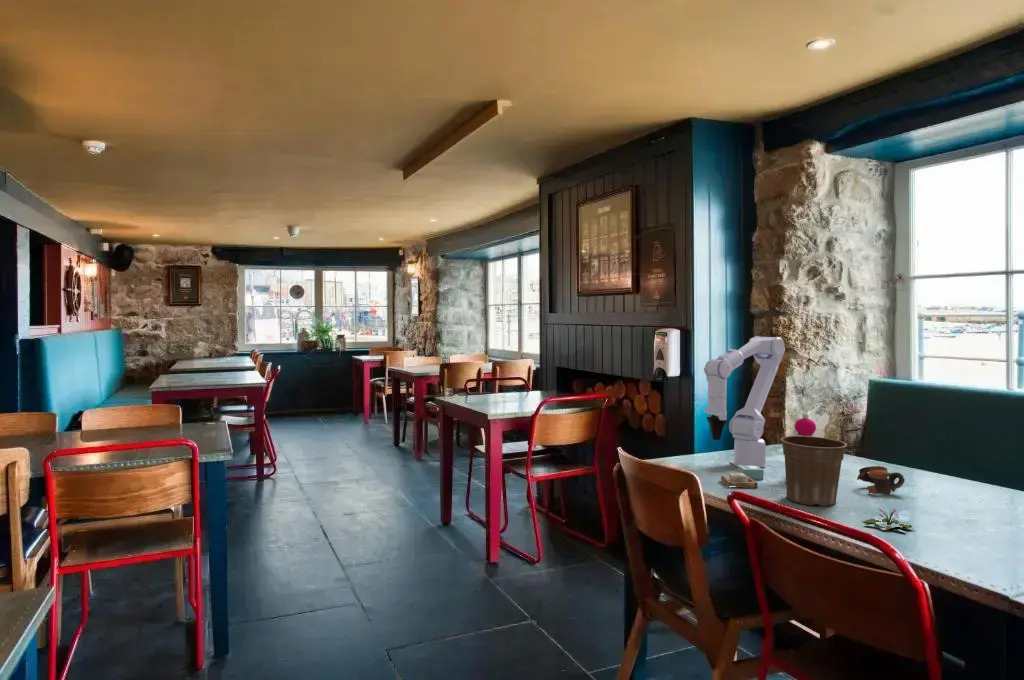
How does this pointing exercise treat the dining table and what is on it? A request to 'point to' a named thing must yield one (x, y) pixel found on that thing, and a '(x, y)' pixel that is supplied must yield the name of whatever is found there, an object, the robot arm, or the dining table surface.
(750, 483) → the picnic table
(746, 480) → the stub
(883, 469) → the pottery mug
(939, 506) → the dining table surface
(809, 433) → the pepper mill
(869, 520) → the lily flower
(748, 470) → the teal toy building
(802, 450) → the plant pot
